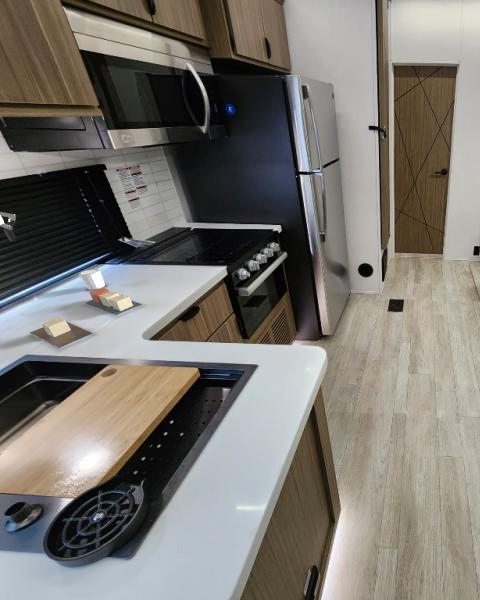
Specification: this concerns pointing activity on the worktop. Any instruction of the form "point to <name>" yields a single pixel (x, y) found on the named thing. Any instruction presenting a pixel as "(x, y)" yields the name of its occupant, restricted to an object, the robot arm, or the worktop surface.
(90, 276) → the white cup
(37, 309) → the worktop surface
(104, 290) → the orange cube
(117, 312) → the grey flat plate
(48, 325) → the front cream tile
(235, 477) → the worktop surface
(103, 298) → the back tile
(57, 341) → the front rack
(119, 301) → the back tile
